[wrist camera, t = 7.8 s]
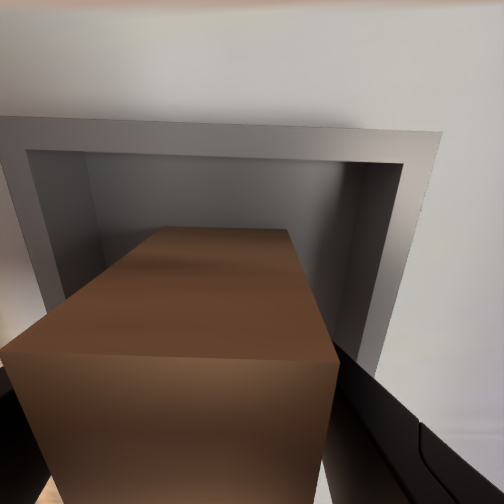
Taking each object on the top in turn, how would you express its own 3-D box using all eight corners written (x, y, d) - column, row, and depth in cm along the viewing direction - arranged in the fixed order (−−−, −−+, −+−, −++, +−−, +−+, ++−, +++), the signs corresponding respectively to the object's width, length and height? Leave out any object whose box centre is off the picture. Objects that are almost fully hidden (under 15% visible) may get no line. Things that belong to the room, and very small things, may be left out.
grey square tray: (334, 372, 14) (356, 438, 11) (122, 363, 14) (81, 425, 11) (380, 139, 10) (442, 132, 6) (76, 128, 10) (-14, 115, 7)
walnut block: (279, 330, 12) (306, 541, 5) (175, 327, 12) (76, 532, 5) (287, 229, 10) (340, 362, 4) (164, 226, 10) (-3, 351, 4)
